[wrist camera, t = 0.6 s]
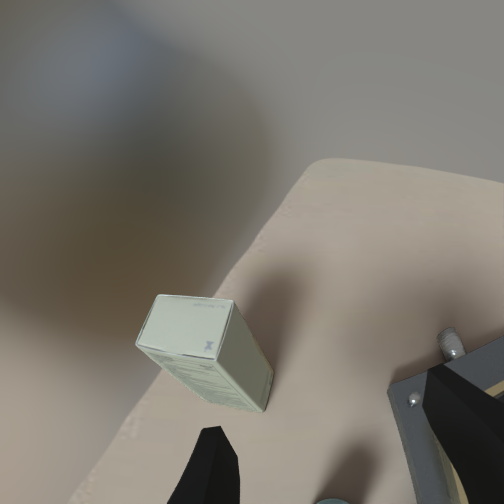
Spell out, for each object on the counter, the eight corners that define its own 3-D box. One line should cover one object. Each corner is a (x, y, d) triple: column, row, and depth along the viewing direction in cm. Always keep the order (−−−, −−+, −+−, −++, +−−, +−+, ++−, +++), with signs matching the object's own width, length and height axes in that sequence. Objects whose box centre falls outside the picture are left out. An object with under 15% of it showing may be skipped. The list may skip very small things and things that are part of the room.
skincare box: (275, 371, 28) (240, 297, 20) (264, 415, 26) (219, 362, 17) (213, 362, 30) (157, 290, 22) (200, 402, 28) (132, 344, 19)
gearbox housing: (559, 489, 10) (583, 483, 7) (429, 568, 11) (443, 578, 8) (495, 315, 25) (509, 292, 22) (377, 363, 26) (381, 343, 23)
